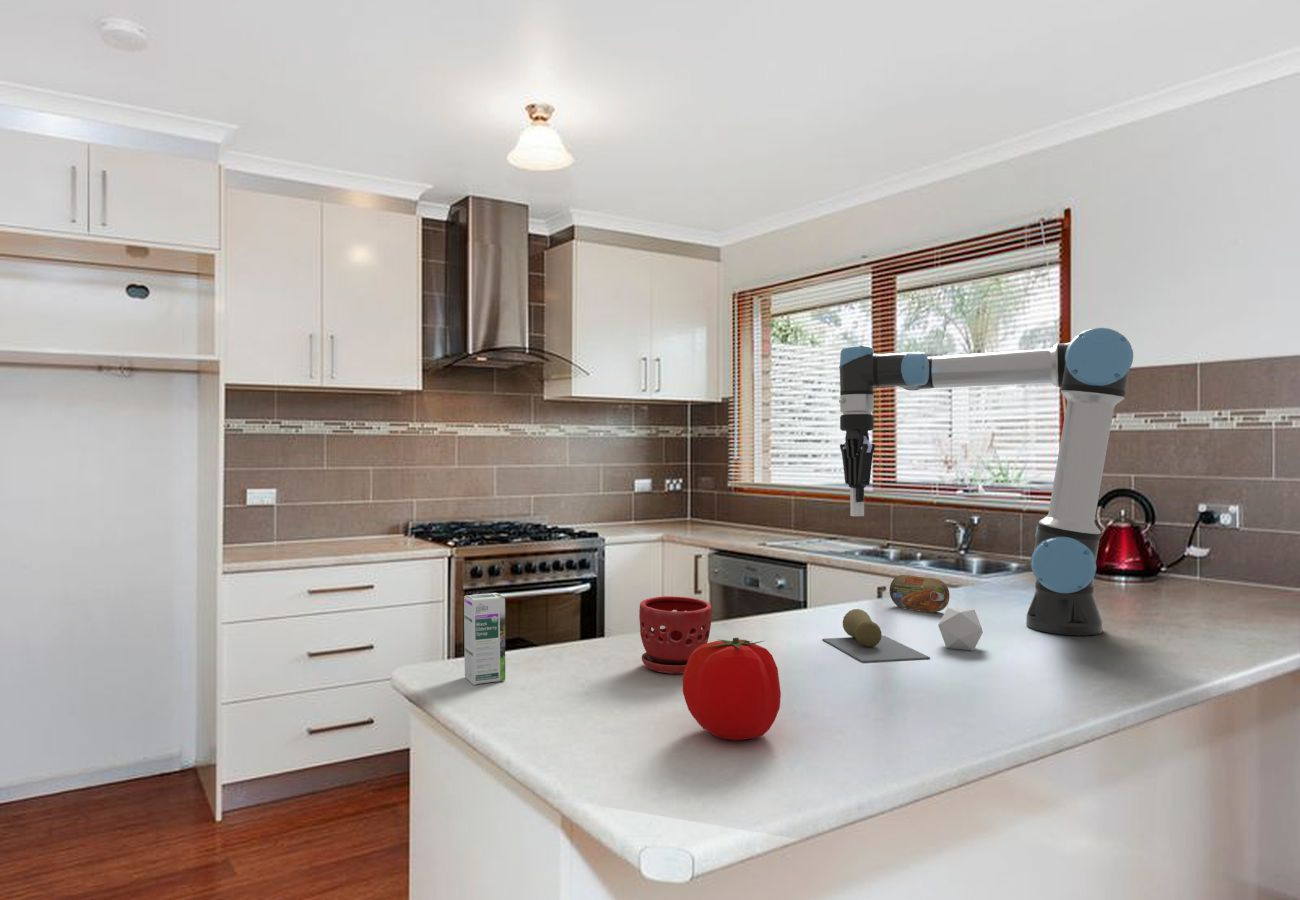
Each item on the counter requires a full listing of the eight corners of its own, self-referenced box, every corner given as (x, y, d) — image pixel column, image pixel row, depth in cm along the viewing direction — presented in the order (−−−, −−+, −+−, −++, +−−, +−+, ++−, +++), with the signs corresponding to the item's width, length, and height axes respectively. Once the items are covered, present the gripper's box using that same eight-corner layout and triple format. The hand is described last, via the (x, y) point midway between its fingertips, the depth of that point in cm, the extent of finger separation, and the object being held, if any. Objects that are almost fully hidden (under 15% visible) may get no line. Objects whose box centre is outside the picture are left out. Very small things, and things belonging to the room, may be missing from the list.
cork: (874, 634, 177) (888, 647, 166) (846, 640, 177) (858, 654, 166) (867, 606, 177) (882, 617, 166) (839, 612, 177) (852, 624, 166)
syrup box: (472, 685, 141) (473, 599, 141) (463, 676, 147) (463, 593, 146) (505, 681, 144) (506, 596, 144) (495, 672, 149) (495, 591, 149)
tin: (888, 606, 211) (888, 572, 211) (895, 604, 214) (895, 571, 214) (944, 615, 200) (945, 580, 200) (951, 613, 203) (951, 578, 202)
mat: (822, 640, 175) (822, 638, 175) (884, 637, 178) (884, 635, 178) (862, 662, 157) (862, 660, 157) (930, 658, 160) (930, 657, 160)
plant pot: (628, 673, 149) (628, 606, 149) (653, 656, 161) (653, 593, 161) (699, 681, 145) (699, 611, 144) (719, 662, 157) (719, 598, 157)
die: (986, 648, 171) (960, 606, 175) (997, 636, 163) (970, 592, 168) (950, 664, 170) (925, 621, 175) (960, 652, 162) (934, 608, 167)
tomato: (779, 756, 110) (780, 652, 110) (675, 749, 113) (675, 647, 113) (781, 718, 126) (782, 626, 126) (690, 712, 128) (690, 622, 128)
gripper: (829, 414, 200) (830, 514, 200) (854, 412, 187) (855, 518, 187) (858, 414, 201) (859, 513, 201) (885, 412, 189) (886, 517, 189)
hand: (857, 515), depth 194 cm, fingers closed
